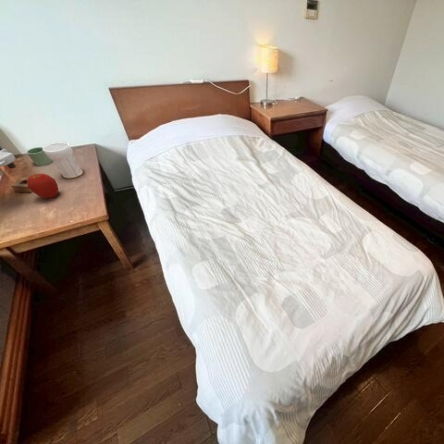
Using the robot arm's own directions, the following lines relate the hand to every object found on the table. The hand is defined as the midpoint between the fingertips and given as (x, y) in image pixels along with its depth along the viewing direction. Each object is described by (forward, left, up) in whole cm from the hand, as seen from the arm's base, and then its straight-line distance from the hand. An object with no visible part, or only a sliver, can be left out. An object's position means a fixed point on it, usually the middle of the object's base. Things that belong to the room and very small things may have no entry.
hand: (1, 149), depth 117 cm
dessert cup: (-18, +20, -22) cm, 35 cm away
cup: (+8, +17, -22) cm, 29 cm away
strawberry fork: (0, -1, -9) cm, 9 cm away
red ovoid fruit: (+16, -2, -22) cm, 27 cm away
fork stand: (0, -1, -22) cm, 22 cm away
